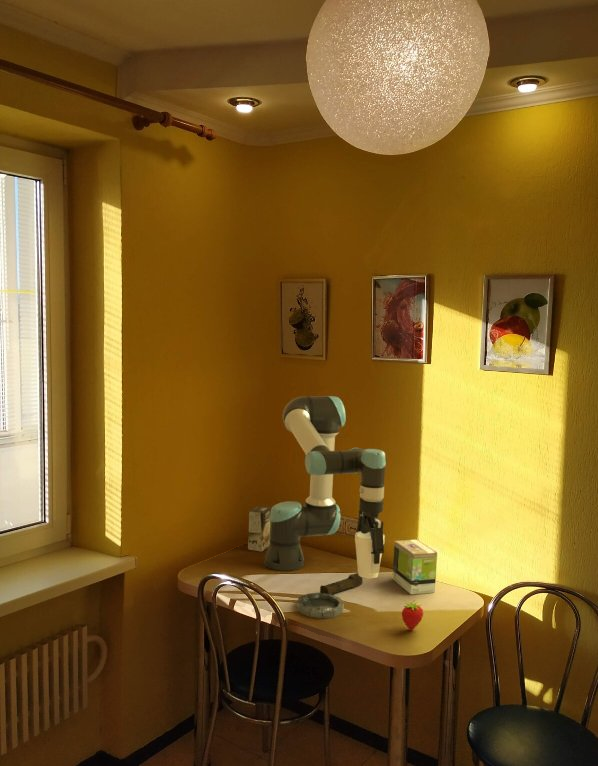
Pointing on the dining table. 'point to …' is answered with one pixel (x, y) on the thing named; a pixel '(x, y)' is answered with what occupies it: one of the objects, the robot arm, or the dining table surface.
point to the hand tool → (342, 584)
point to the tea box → (414, 566)
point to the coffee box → (259, 528)
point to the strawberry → (412, 615)
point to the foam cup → (364, 554)
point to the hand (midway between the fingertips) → (368, 566)
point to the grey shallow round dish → (320, 605)
